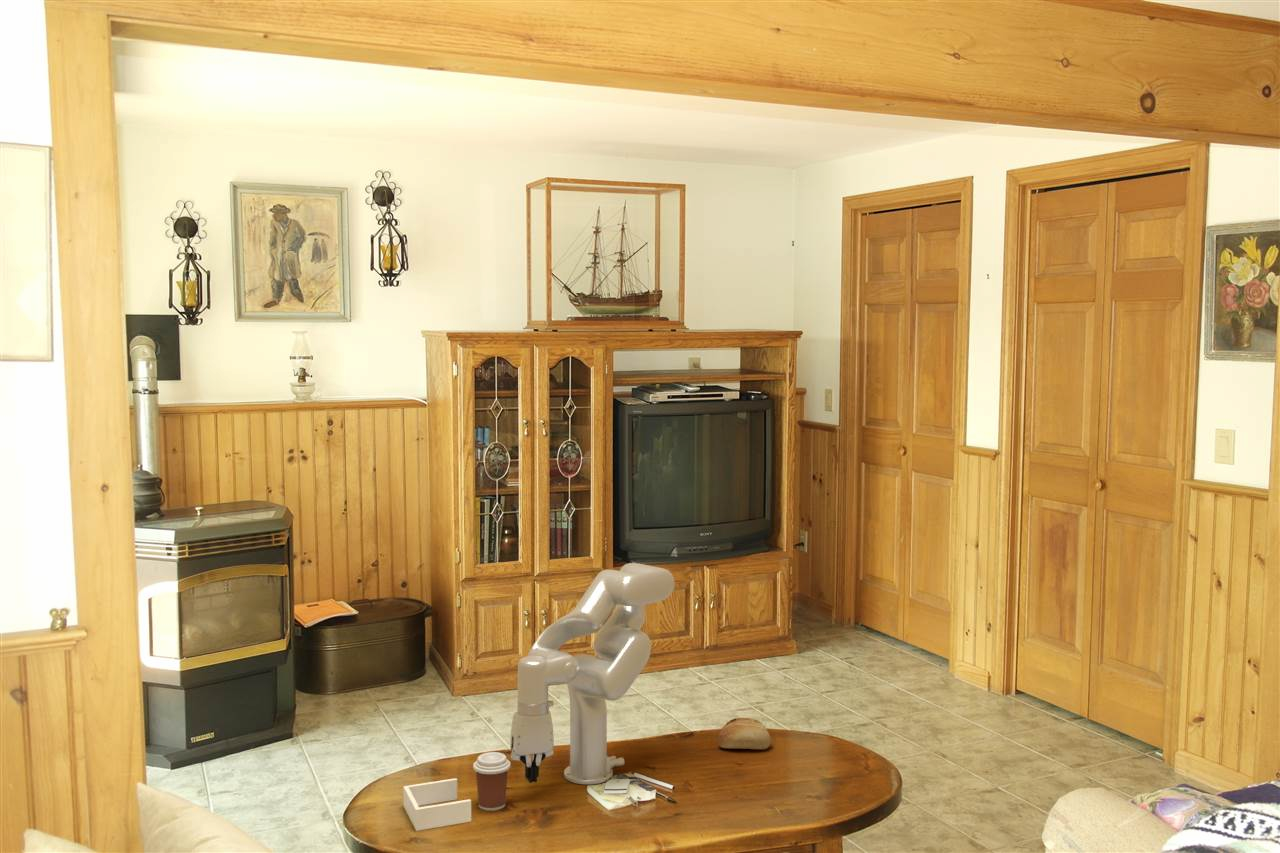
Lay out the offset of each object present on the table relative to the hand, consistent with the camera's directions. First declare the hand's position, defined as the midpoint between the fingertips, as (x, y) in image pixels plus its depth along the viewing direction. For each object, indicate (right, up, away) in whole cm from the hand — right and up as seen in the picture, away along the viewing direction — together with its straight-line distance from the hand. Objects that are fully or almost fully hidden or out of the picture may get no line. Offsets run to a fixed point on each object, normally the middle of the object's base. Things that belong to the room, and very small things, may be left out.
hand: (531, 780), depth 272 cm
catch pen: (-22, -5, -9) cm, 25 cm away
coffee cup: (-9, -5, -3) cm, 11 cm away
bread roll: (+56, -3, +35) cm, 66 cm away
